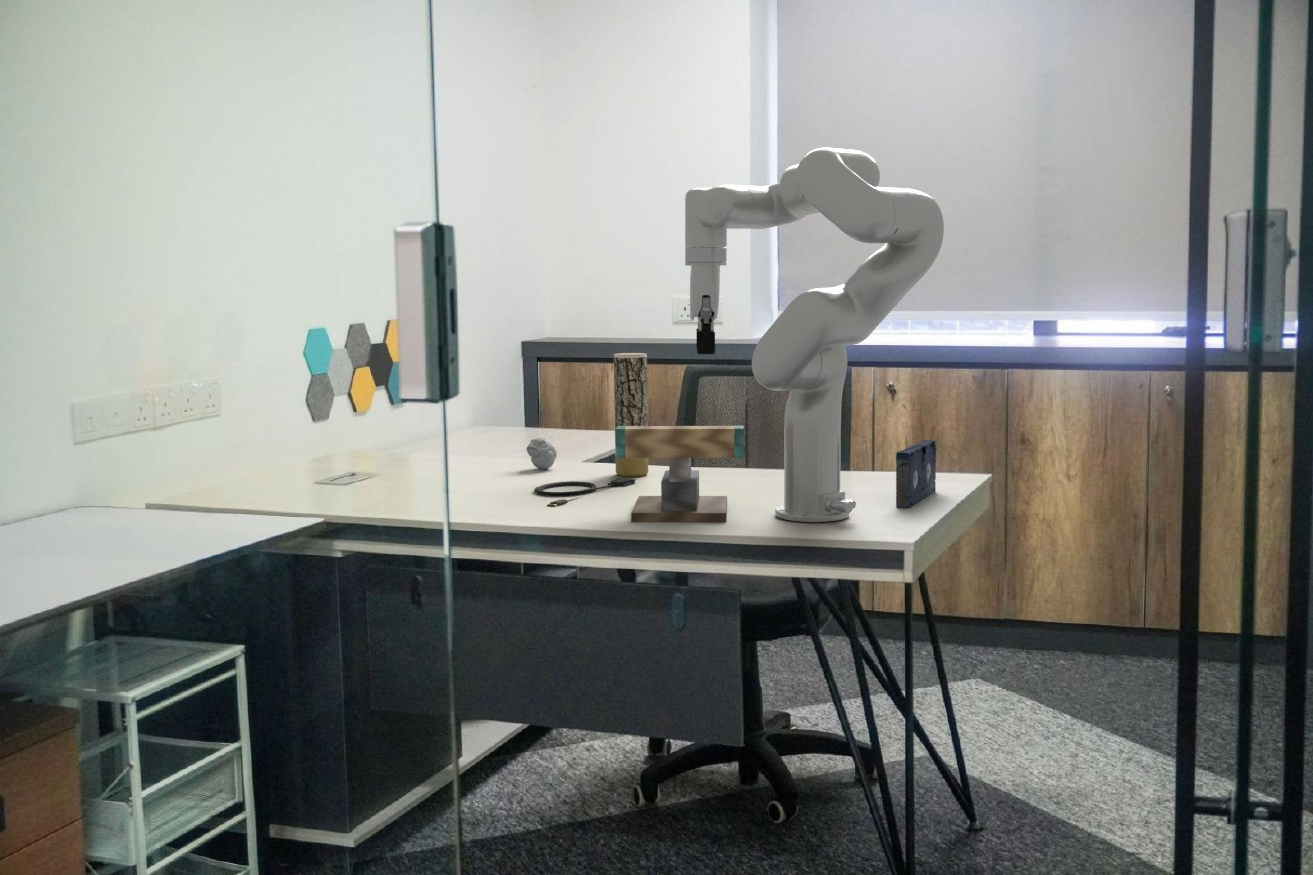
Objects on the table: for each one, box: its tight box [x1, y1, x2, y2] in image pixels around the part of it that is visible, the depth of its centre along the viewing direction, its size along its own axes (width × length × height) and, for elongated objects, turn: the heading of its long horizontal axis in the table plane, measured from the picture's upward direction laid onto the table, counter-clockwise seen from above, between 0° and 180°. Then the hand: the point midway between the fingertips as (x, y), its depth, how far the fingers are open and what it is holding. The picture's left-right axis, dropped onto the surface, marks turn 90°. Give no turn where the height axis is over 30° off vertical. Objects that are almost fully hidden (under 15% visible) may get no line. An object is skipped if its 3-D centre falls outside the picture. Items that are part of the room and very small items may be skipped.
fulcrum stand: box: [630, 458, 728, 523], centre depth 220 cm, size 16×16×10 cm
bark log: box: [613, 352, 649, 478], centre depth 260 cm, size 7×7×25 cm
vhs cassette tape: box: [895, 439, 937, 509], centre depth 230 cm, size 18×3×10 cm, turn 152°
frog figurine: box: [526, 436, 558, 471], centre depth 270 cm, size 6×7×7 cm
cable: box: [533, 477, 636, 508], centre depth 243 cm, size 14×28×2 cm, turn 149°
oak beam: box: [615, 425, 745, 459], centre depth 219 cm, size 22×4×5 cm, turn 86°
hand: (705, 351), depth 232 cm, fingers open, 9 cm apart
